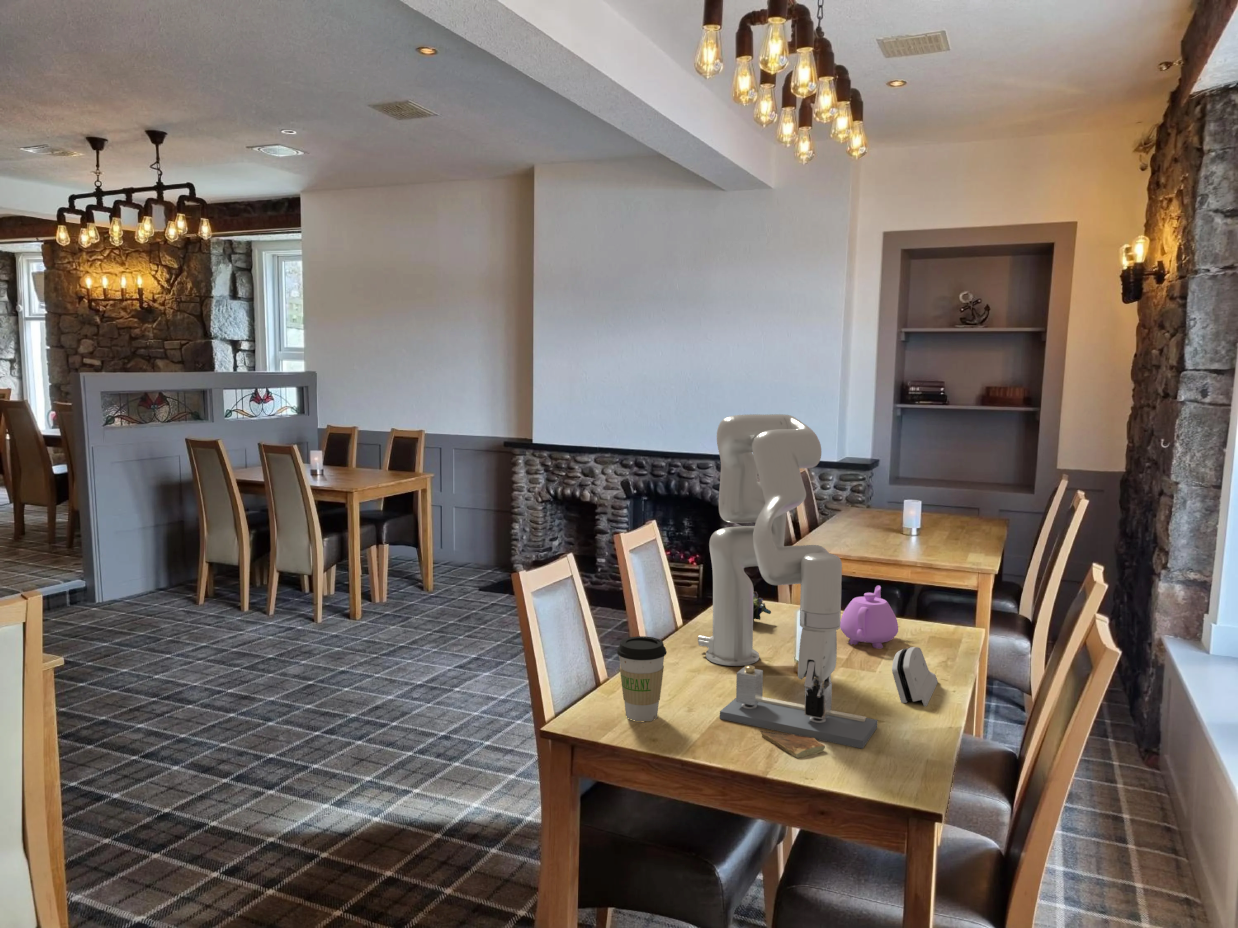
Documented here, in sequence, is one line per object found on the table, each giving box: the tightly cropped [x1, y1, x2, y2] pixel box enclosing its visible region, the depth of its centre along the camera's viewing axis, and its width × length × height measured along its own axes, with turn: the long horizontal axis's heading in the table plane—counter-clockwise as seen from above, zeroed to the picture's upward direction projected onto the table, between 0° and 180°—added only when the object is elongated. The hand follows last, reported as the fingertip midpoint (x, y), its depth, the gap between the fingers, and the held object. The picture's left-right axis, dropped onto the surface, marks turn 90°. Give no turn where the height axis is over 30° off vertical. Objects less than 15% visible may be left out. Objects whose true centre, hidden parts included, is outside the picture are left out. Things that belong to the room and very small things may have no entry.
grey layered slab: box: [891, 646, 939, 707], centre depth 187 cm, size 17×5×10 cm, turn 152°
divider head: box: [804, 677, 833, 720], centre depth 168 cm, size 4×4×8 cm
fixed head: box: [735, 664, 764, 706], centre depth 175 cm, size 4×4×8 cm
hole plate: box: [719, 696, 878, 750], centre depth 170 cm, size 28×11×2 cm, turn 60°
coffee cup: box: [616, 635, 667, 722], centre depth 173 cm, size 10×10×15 cm
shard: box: [759, 730, 826, 759], centre depth 161 cm, size 11×8×2 cm
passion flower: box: [753, 590, 772, 622], centre depth 237 cm, size 11×11×12 cm
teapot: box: [839, 585, 899, 649], centre depth 222 cm, size 20×14×12 cm
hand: (817, 710), depth 168 cm, fingers closed on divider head, 4 cm apart
